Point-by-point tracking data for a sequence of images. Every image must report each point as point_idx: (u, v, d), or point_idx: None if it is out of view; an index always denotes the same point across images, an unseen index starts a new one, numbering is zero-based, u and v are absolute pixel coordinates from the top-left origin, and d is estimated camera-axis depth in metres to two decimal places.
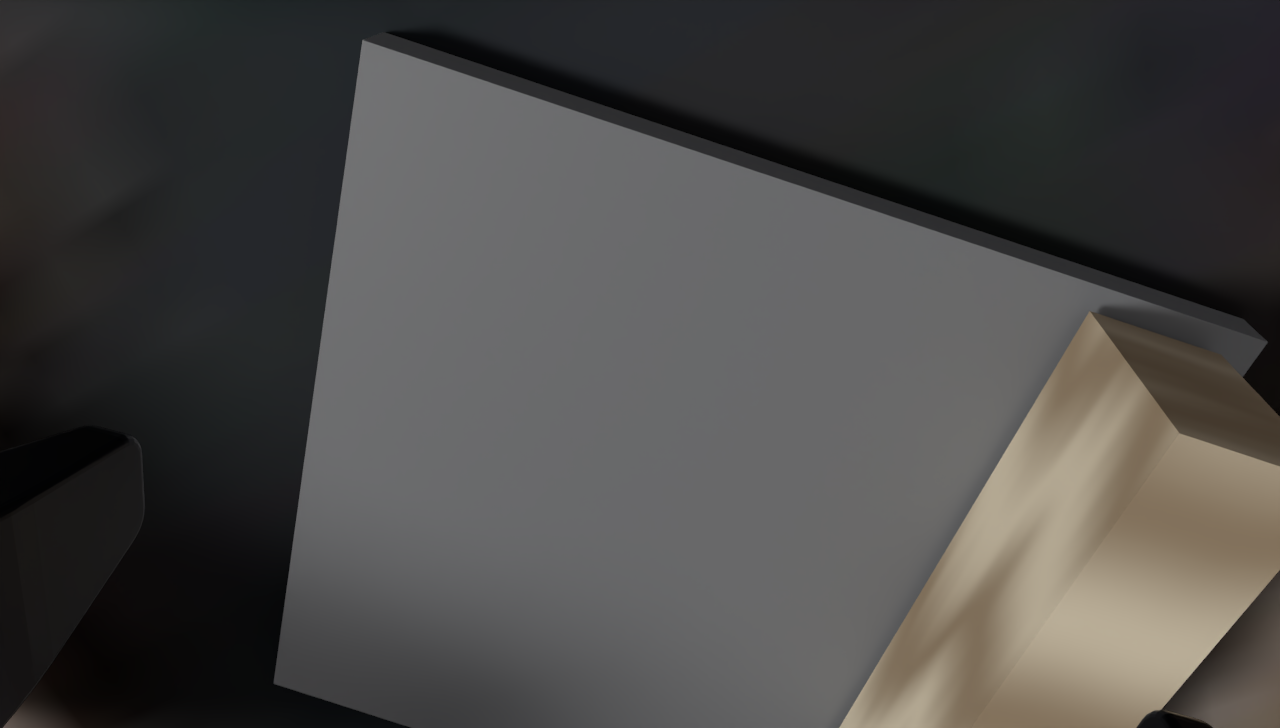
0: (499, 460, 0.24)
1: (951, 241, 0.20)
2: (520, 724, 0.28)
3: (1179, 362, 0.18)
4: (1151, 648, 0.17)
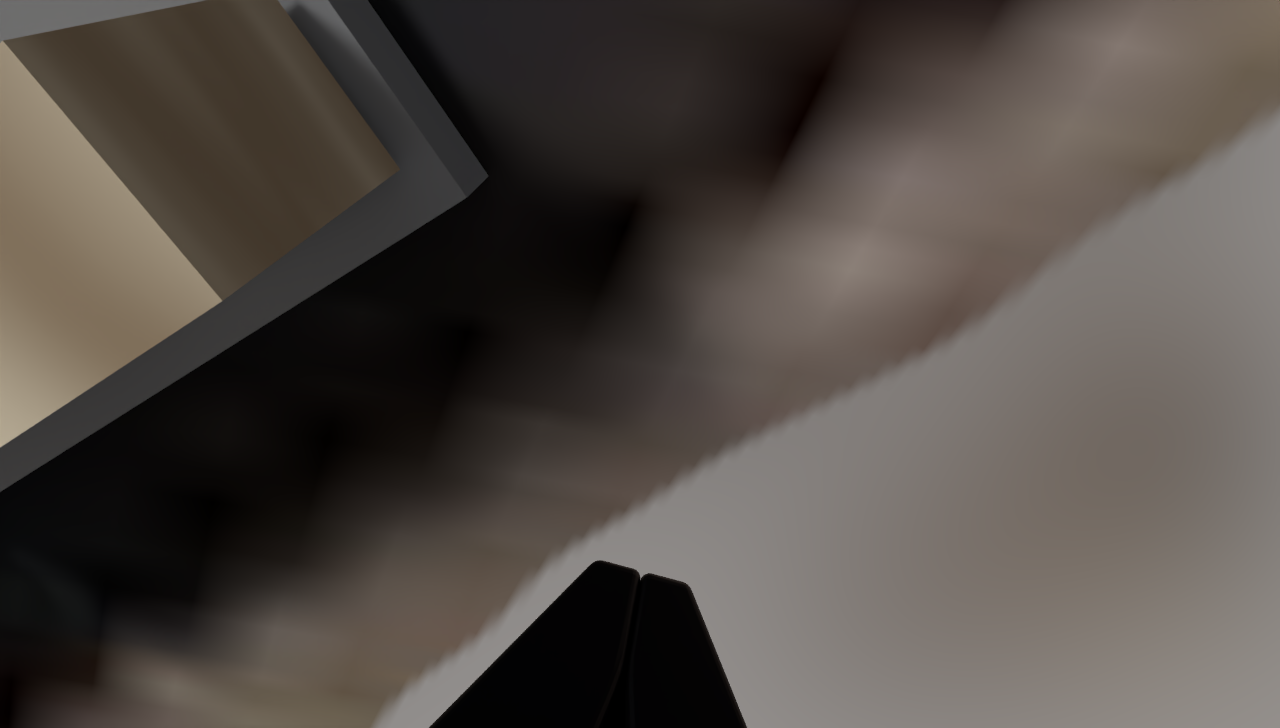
0: None
1: None
2: None
3: (289, 100, 0.12)
4: None
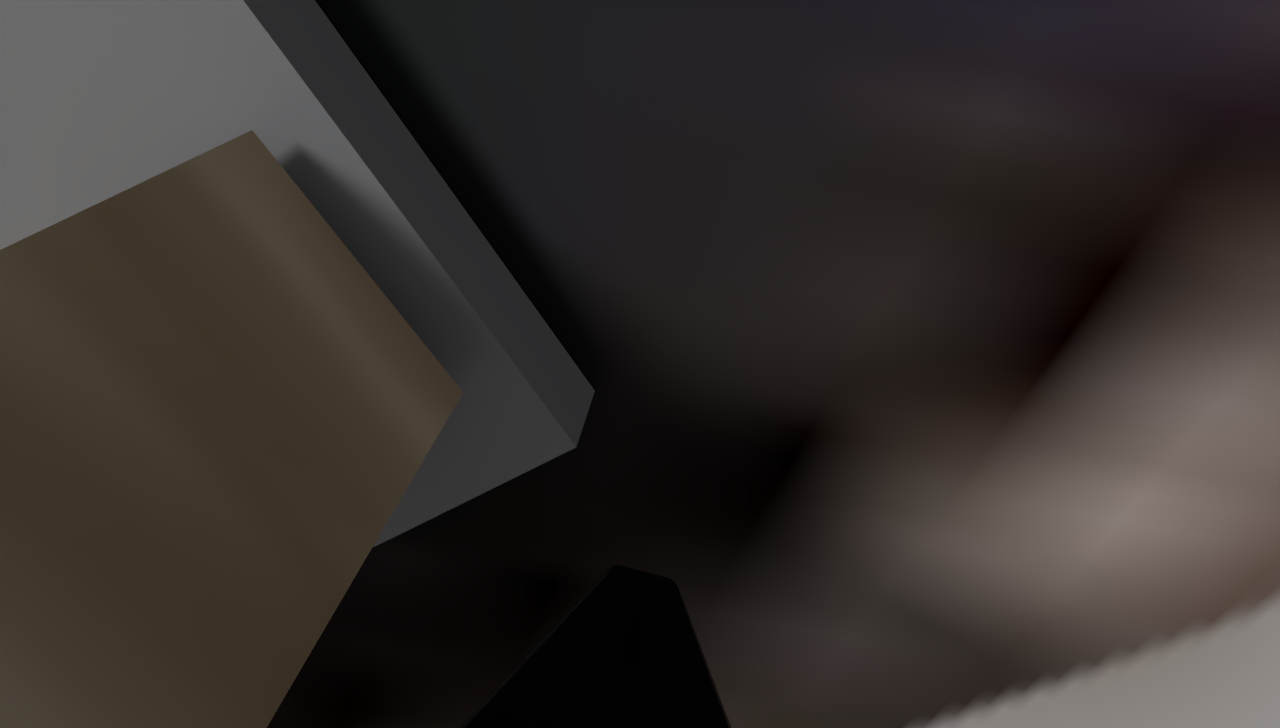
0: None
1: None
2: None
3: (292, 331, 0.07)
4: None
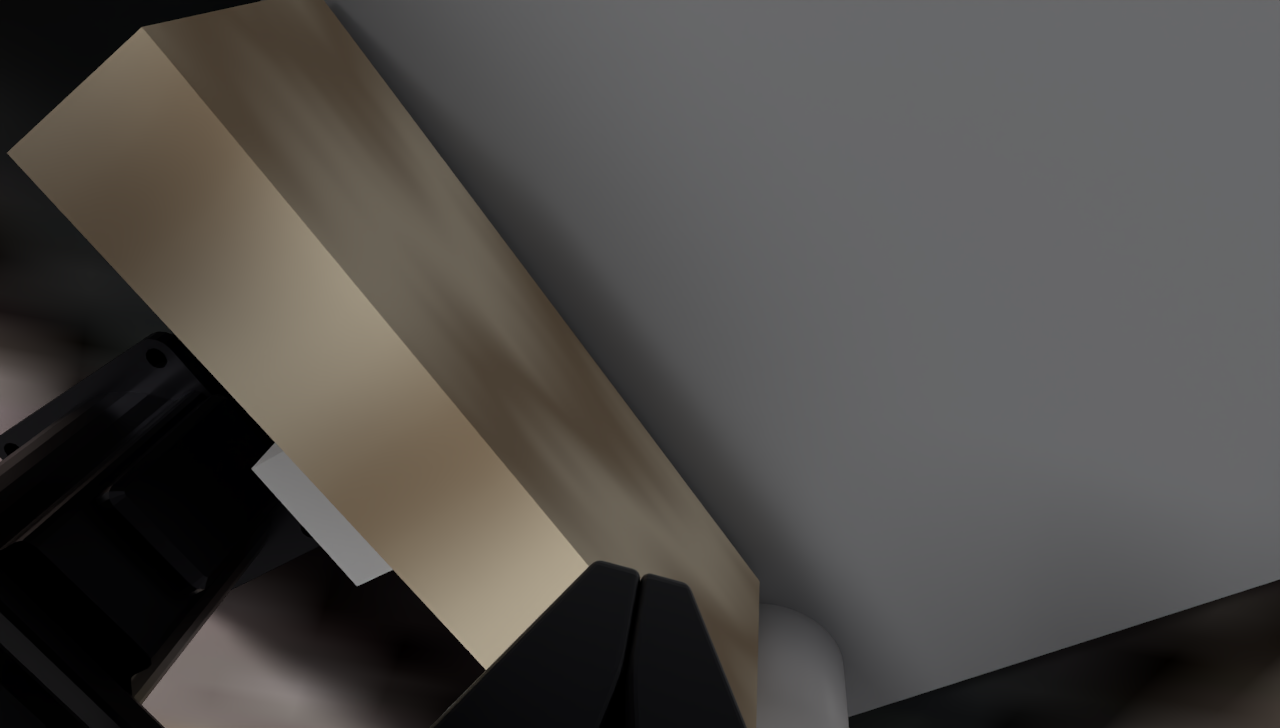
0: None
1: None
2: None
3: None
4: (316, 326, 0.13)
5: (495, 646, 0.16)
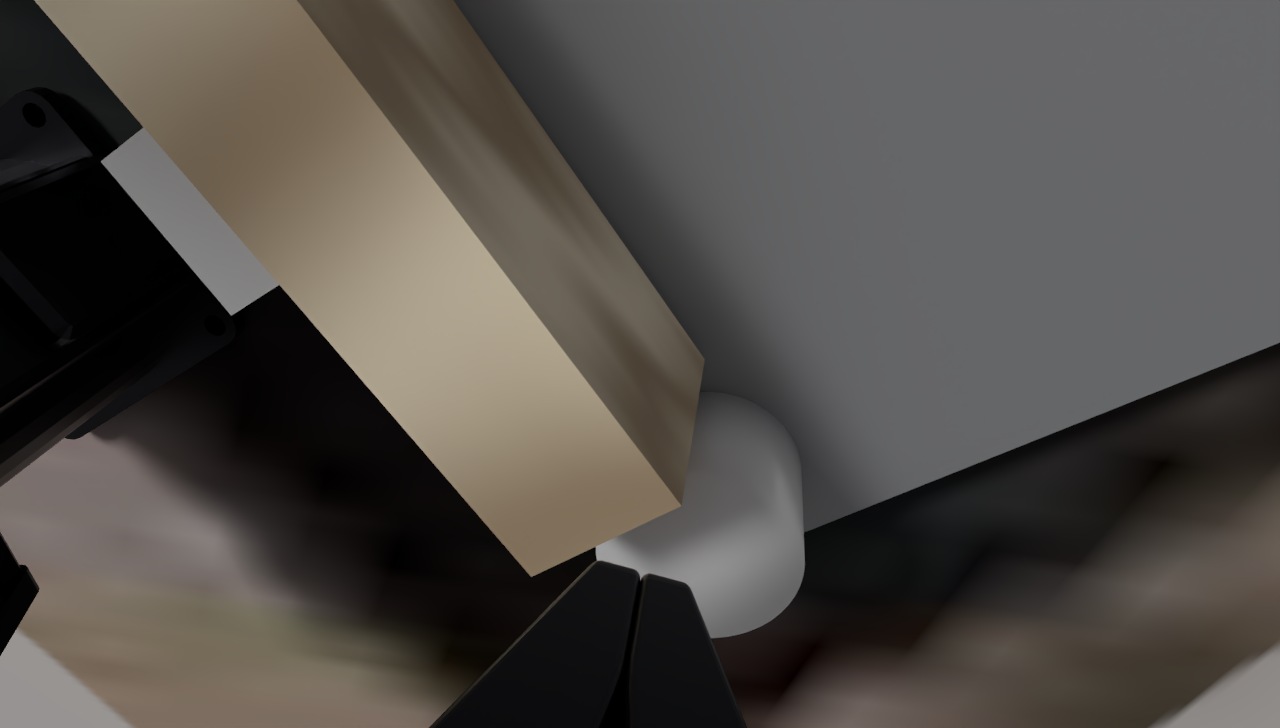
0: None
1: None
2: None
3: None
4: None
5: (377, 354, 0.14)
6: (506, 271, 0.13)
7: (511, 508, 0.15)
